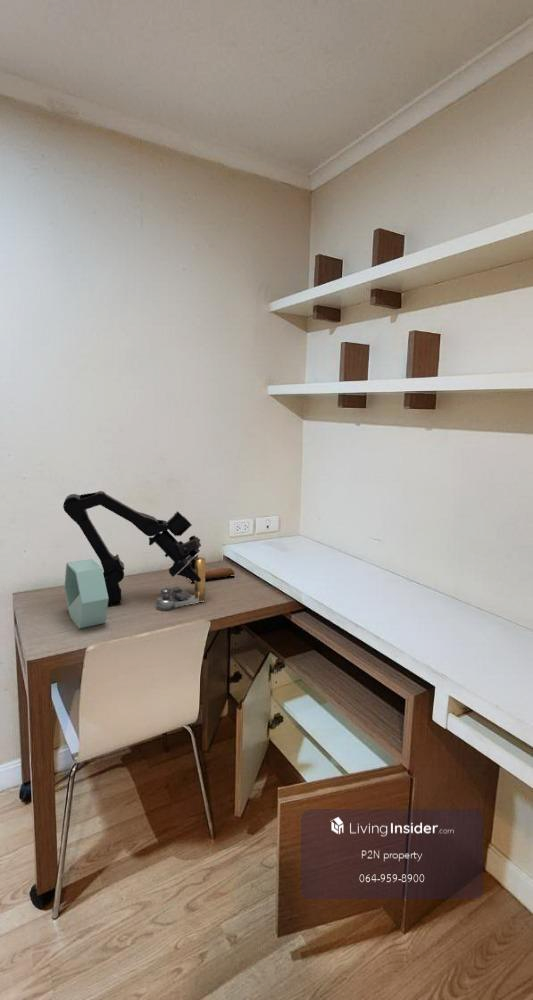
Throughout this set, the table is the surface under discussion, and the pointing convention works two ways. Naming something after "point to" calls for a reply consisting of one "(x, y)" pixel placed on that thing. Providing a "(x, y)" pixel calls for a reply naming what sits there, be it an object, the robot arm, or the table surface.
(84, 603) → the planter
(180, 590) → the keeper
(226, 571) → the sunglasses case
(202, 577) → the link
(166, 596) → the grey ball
